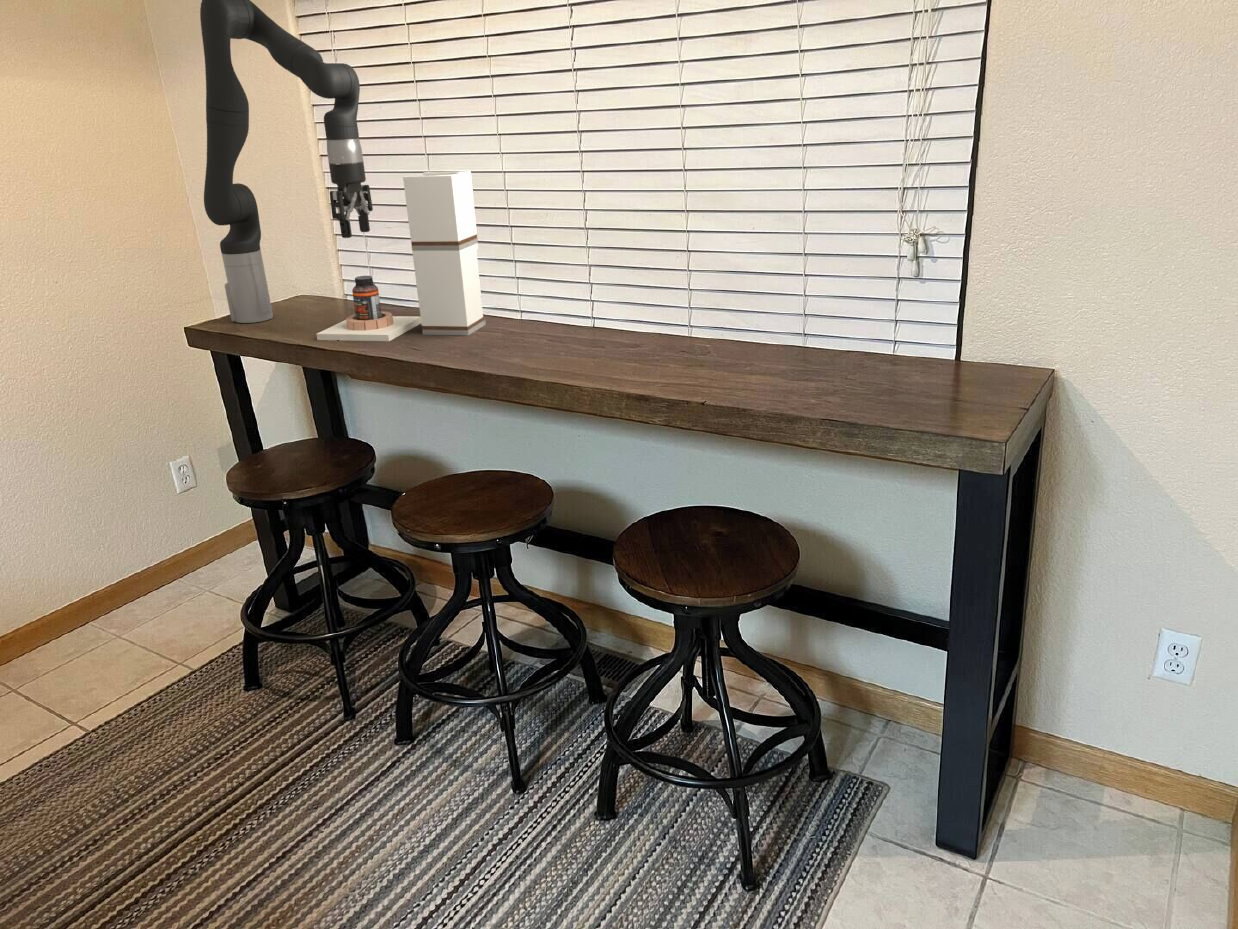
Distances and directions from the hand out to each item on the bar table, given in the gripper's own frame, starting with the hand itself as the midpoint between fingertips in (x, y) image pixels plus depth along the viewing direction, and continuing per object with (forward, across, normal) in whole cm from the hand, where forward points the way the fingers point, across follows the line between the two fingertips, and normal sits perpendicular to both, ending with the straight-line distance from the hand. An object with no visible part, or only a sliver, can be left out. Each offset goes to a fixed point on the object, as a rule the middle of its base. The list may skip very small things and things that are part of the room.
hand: (356, 234), depth 210 cm
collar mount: (+22, +2, +1) cm, 22 cm away
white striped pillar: (+22, -2, +21) cm, 31 cm away
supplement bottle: (+21, +2, +1) cm, 21 cm away
